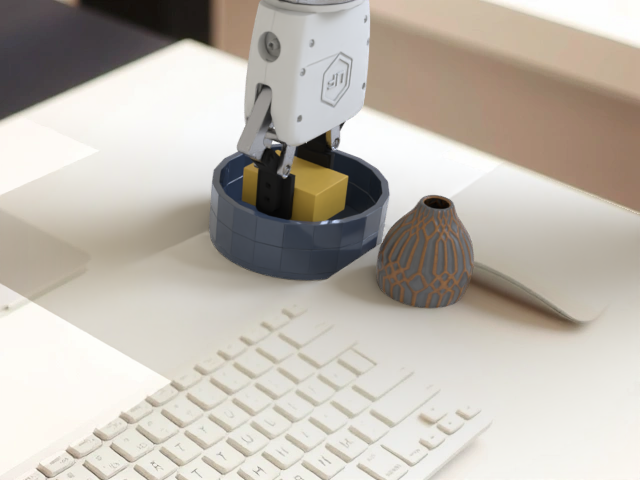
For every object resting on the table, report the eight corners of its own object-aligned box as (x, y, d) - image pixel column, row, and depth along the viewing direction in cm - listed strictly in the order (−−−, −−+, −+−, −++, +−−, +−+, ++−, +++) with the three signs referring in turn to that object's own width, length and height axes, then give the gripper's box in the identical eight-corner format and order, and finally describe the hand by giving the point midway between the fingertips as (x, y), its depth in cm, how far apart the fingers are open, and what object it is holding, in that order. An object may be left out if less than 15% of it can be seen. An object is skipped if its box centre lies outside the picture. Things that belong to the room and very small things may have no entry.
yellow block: (274, 182, 91) (277, 149, 89) (344, 209, 87) (348, 175, 85) (241, 200, 88) (243, 167, 86) (311, 229, 84) (315, 195, 83)
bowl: (277, 179, 99) (282, 128, 96) (412, 234, 91) (422, 180, 88) (174, 235, 90) (176, 181, 87) (313, 301, 82) (321, 244, 79)
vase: (426, 341, 78) (449, 236, 73) (352, 301, 82) (368, 199, 77) (481, 307, 82) (506, 204, 77) (407, 270, 86) (426, 171, 81)
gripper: (285, 17, 70) (265, 260, 80) (423, -40, 80) (389, 182, 90) (196, -8, 74) (189, 226, 85) (338, -60, 84) (315, 156, 95)
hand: (292, 201), depth 87 cm, fingers closed on yellow block, 4 cm apart
